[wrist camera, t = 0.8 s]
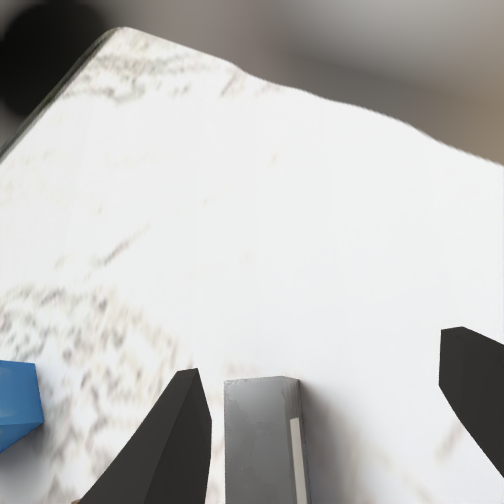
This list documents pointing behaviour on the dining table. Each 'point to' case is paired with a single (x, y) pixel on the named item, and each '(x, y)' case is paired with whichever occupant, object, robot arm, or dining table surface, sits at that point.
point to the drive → (265, 442)
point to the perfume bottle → (18, 402)
